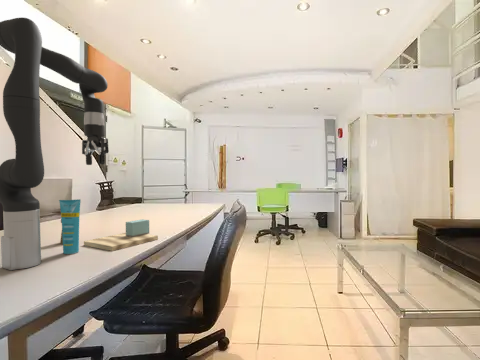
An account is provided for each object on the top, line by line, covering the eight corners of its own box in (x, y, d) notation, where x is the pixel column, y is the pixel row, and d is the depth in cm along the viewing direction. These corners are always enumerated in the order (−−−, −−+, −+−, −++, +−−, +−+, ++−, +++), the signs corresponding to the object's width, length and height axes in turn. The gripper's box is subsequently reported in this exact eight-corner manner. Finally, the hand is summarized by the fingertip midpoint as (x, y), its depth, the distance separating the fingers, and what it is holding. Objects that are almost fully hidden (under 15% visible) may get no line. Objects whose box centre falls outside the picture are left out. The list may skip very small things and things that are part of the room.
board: (112, 250, 111) (112, 246, 111) (83, 245, 120) (83, 241, 120) (157, 239, 129) (157, 235, 129) (130, 235, 139) (129, 231, 139)
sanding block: (132, 237, 127) (132, 222, 127) (125, 236, 129) (125, 222, 129) (149, 233, 134) (149, 220, 134) (142, 232, 137) (142, 219, 136)
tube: (57, 254, 106) (55, 200, 106) (63, 251, 111) (62, 199, 110) (79, 253, 107) (78, 199, 107) (84, 250, 112) (83, 198, 111)
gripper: (75, 125, 123) (76, 164, 124) (96, 121, 116) (97, 164, 116) (92, 127, 130) (93, 165, 130) (113, 124, 122) (114, 164, 123)
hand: (95, 164), depth 123 cm, fingers open, 8 cm apart
